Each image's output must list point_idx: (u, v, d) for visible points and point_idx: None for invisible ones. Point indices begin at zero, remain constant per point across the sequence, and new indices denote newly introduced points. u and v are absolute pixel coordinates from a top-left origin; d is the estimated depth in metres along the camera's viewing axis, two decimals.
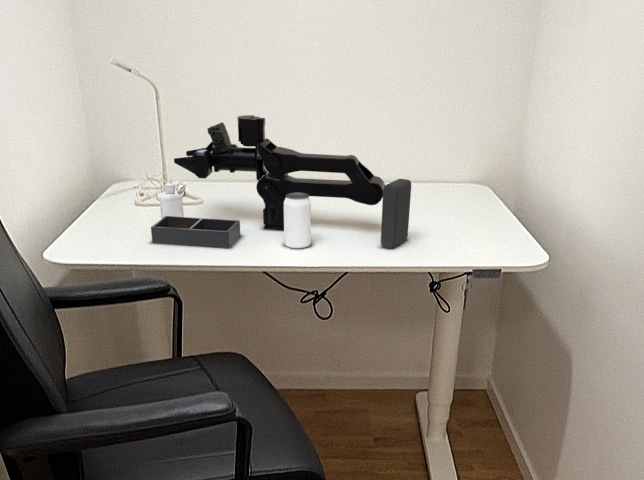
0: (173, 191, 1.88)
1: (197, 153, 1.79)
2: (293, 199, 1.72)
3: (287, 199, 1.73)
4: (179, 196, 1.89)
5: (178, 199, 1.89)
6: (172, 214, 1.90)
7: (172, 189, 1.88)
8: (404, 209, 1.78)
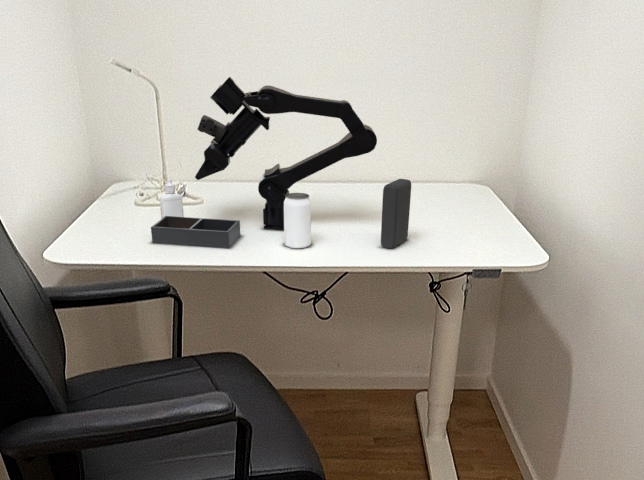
0: (173, 191, 1.88)
1: (205, 150, 1.75)
2: (293, 199, 1.72)
3: (287, 199, 1.73)
4: (179, 196, 1.89)
5: (178, 199, 1.89)
6: (172, 214, 1.90)
7: (172, 189, 1.88)
8: (404, 209, 1.78)
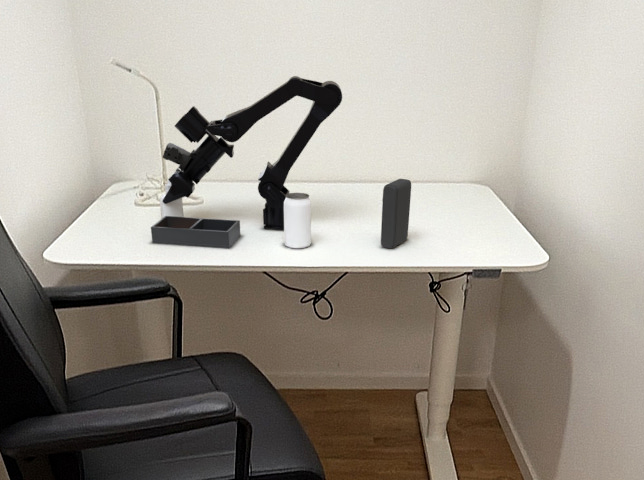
0: None
1: (170, 179, 1.78)
2: (293, 199, 1.72)
3: (287, 199, 1.73)
4: None
5: (178, 199, 1.89)
6: (172, 214, 1.90)
7: None
8: (404, 209, 1.78)
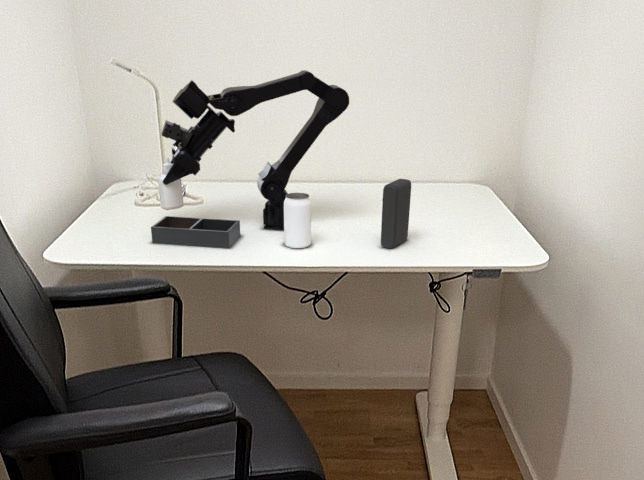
0: None
1: (176, 156, 1.71)
2: (293, 199, 1.72)
3: (287, 199, 1.73)
4: None
5: (178, 179, 1.82)
6: (172, 195, 1.82)
7: None
8: (404, 209, 1.78)
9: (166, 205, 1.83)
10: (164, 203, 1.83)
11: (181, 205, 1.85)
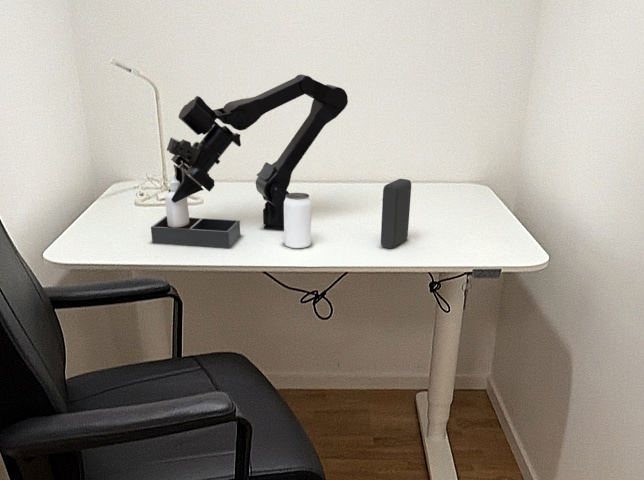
0: None
1: (191, 174, 1.69)
2: (293, 199, 1.72)
3: (287, 199, 1.73)
4: None
5: None
6: (180, 213, 1.79)
7: None
8: (404, 209, 1.78)
9: (175, 223, 1.80)
10: (172, 221, 1.79)
11: (188, 222, 1.83)
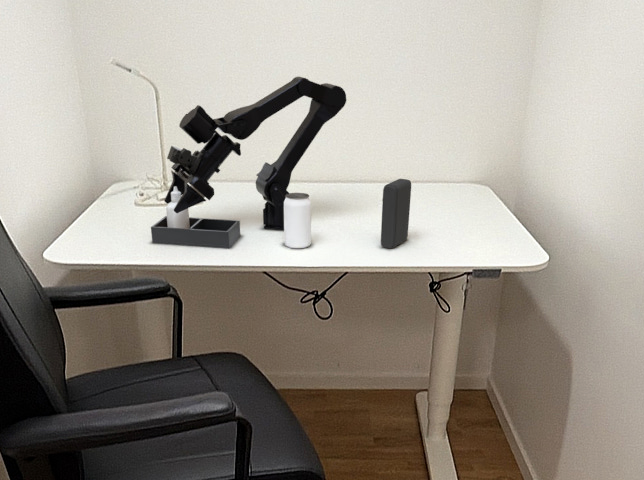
0: None
1: (191, 182, 1.70)
2: (293, 199, 1.72)
3: (287, 199, 1.73)
4: None
5: None
6: (181, 223, 1.81)
7: (180, 197, 1.78)
8: (404, 209, 1.78)
9: None
10: None
11: None
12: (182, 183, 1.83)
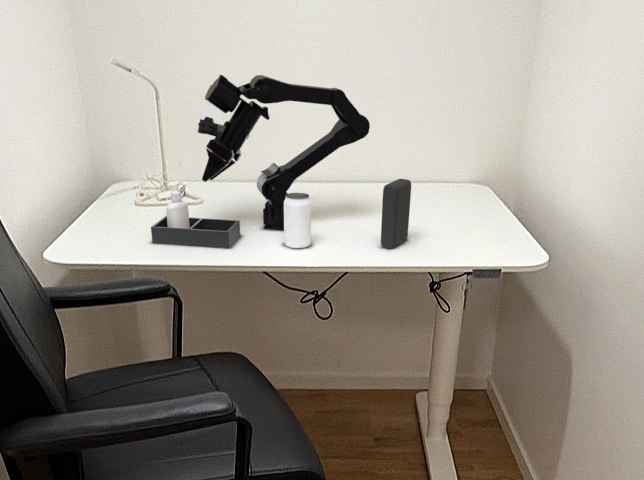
0: (181, 199, 1.79)
1: (207, 145, 1.72)
2: (293, 199, 1.72)
3: (287, 199, 1.73)
4: (186, 203, 1.81)
5: (186, 206, 1.80)
6: (181, 223, 1.81)
7: (180, 197, 1.78)
8: (404, 209, 1.78)
9: None
10: None
11: None
12: None
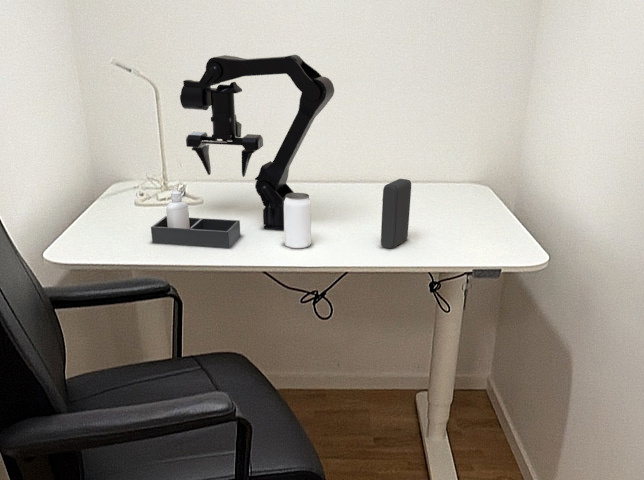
0: (181, 199, 1.79)
1: None
2: (293, 199, 1.72)
3: (287, 199, 1.73)
4: (186, 203, 1.81)
5: (186, 206, 1.80)
6: (181, 223, 1.81)
7: (180, 197, 1.78)
8: (404, 209, 1.78)
9: None
10: None
11: None
12: None
